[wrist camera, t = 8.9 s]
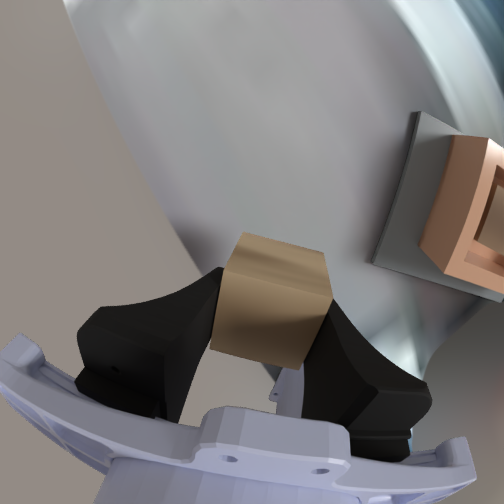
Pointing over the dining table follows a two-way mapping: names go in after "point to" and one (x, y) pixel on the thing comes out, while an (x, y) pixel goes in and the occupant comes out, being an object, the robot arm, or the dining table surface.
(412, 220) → the slate tray
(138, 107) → the dining table surface
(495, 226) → the walnut block
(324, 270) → the oak block
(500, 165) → the terracotta box
